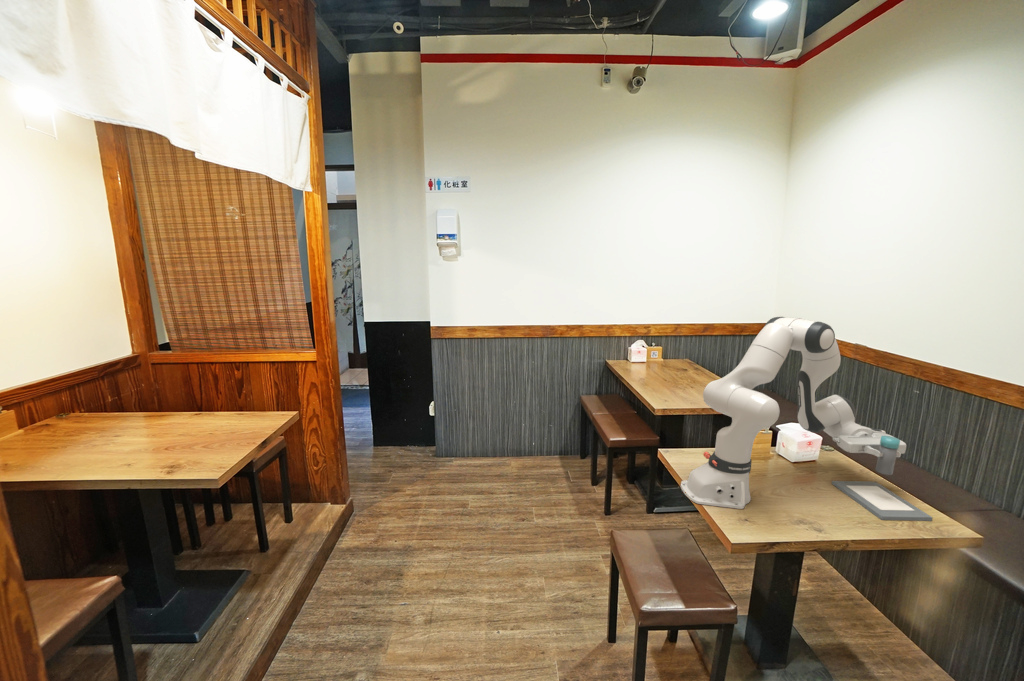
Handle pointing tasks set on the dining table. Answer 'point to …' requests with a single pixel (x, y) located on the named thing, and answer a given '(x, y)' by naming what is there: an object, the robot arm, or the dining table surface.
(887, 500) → the writing board
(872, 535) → the dining table surface
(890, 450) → the marker
